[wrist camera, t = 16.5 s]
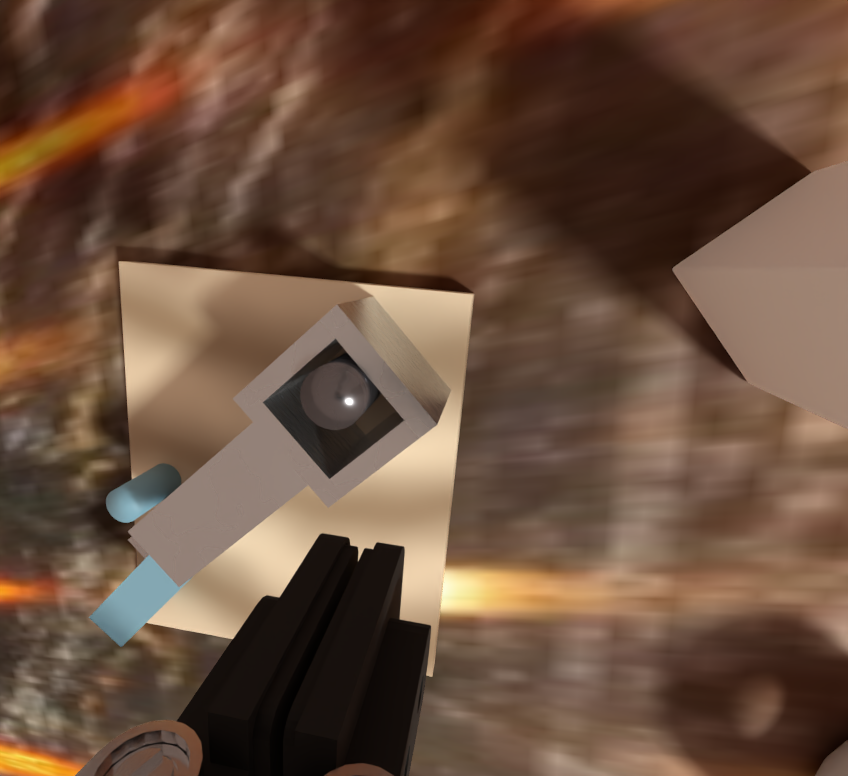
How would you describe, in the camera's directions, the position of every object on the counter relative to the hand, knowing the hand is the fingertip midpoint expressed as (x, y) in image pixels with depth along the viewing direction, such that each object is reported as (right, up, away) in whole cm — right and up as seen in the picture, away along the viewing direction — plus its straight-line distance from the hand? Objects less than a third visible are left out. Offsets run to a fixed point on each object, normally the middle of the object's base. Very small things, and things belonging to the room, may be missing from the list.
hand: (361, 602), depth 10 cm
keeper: (-12, -3, +17) cm, 21 cm away
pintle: (-1, +5, +12) cm, 13 cm away
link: (-5, +1, +14) cm, 15 cm away
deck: (-5, 0, +15) cm, 16 cm away
